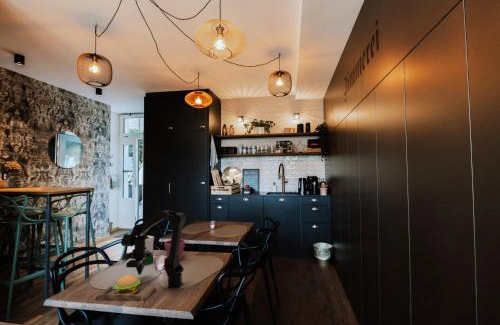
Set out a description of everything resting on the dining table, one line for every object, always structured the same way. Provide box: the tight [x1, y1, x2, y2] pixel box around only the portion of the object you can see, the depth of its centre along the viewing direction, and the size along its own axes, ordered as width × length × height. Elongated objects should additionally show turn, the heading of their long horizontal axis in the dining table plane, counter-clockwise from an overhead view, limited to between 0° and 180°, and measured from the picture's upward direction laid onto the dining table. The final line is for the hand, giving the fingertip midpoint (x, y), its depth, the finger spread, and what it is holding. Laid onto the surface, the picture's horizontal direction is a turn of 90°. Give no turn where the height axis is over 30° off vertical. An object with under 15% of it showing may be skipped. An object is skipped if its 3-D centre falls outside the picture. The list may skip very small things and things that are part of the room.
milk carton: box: [139, 233, 155, 266], centre depth 176 cm, size 9×9×20 cm
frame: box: [95, 286, 157, 302], centre depth 130 cm, size 26×11×2 cm, turn 85°
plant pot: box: [164, 238, 186, 261], centre depth 184 cm, size 14×14×13 cm
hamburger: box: [114, 274, 141, 294], centre depth 133 cm, size 12×12×9 cm
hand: (139, 274), depth 144 cm, fingers closed
